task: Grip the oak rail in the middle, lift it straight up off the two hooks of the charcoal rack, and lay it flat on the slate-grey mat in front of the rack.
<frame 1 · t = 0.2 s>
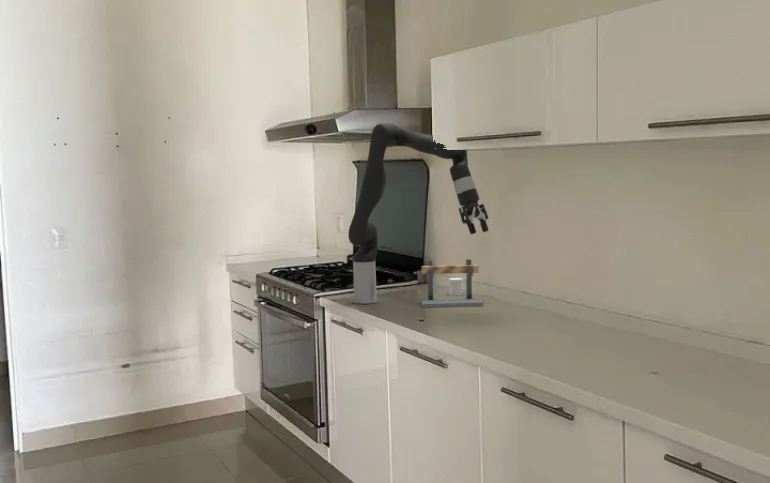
hand: (479, 232, 279), 31 cm above the worktop, tool tilted 20°, fingers open, 8 cm apart
charcoal rack: (450, 301, 313), on the worktop
beige white-topped cylinder: (456, 295, 329), on the worktop
oak rail: (449, 273, 311), point 12 cm above the worktop, touching charcoal rack
slate mat: (452, 305, 305), on the worktop
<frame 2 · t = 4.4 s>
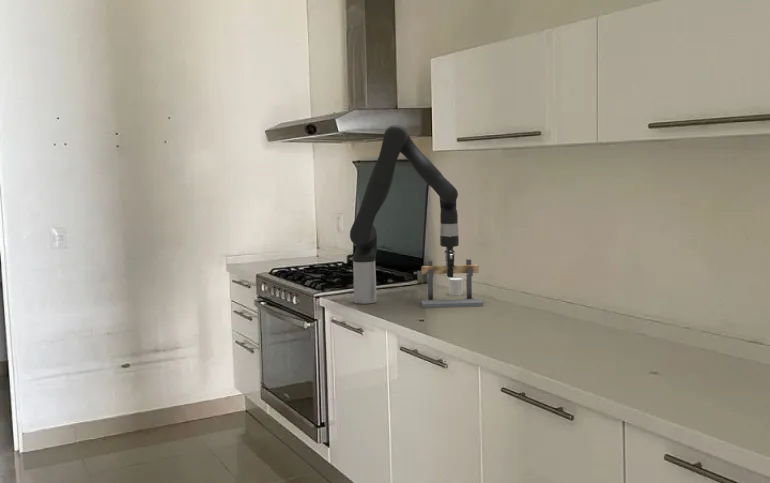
hand: (450, 276, 311), 11 cm above the worktop, tool pointing down, fingers closed on oak rail, 3 cm apart
oak rail: (449, 273, 311), point 12 cm above the worktop, touching charcoal rack, gripper
everything else where it was.
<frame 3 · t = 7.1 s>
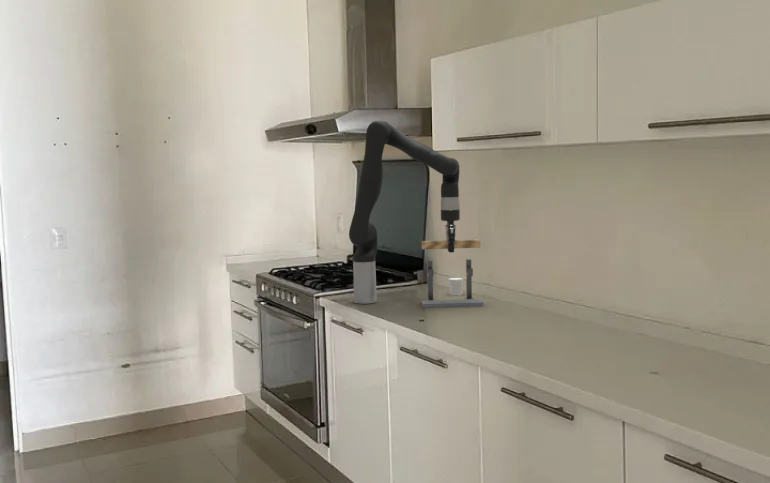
hand: (450, 251, 303), 22 cm above the worktop, tool pointing down, fingers closed on oak rail, 3 cm apart
oak rail: (450, 248, 303), point 23 cm above the worktop, touching gripper
everything else where it was.
when the fingers open (2 cm above the worktop, at t = 10.0 s): oak rail drops 2 cm, resting on slate mat.
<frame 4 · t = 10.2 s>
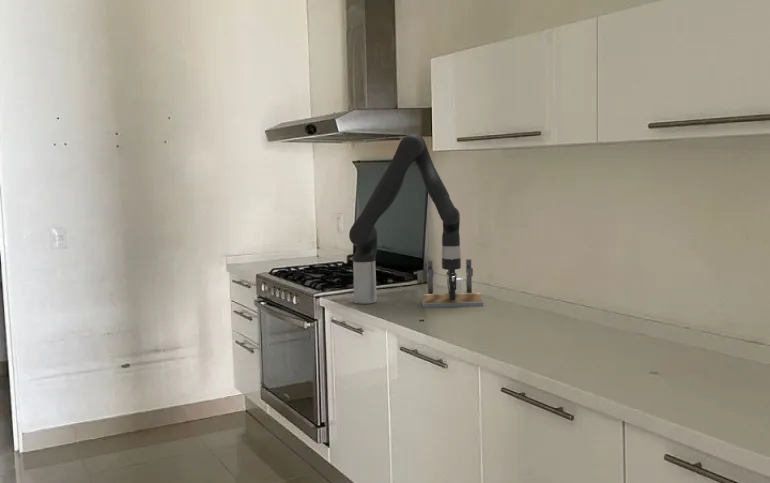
hand: (451, 298, 305), 3 cm above the worktop, tool pointing down, fingers open, 4 cm apart
oak rail: (452, 301, 305), point 1 cm above the worktop, touching slate mat
everything else where it was.
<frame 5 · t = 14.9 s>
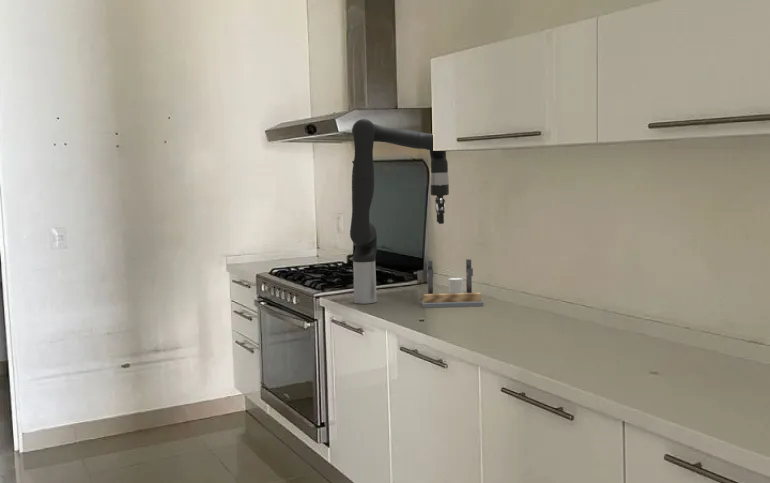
hand: (440, 222, 316), 32 cm above the worktop, tool pointing down, fingers open, 8 cm apart
nothing on the worktop moved.
at the end: oak rail inside the target area (0.1 cm from its centre), point 1.5 cm above the worktop; oak rail touching slate mat; the gripper is holding nothing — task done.
